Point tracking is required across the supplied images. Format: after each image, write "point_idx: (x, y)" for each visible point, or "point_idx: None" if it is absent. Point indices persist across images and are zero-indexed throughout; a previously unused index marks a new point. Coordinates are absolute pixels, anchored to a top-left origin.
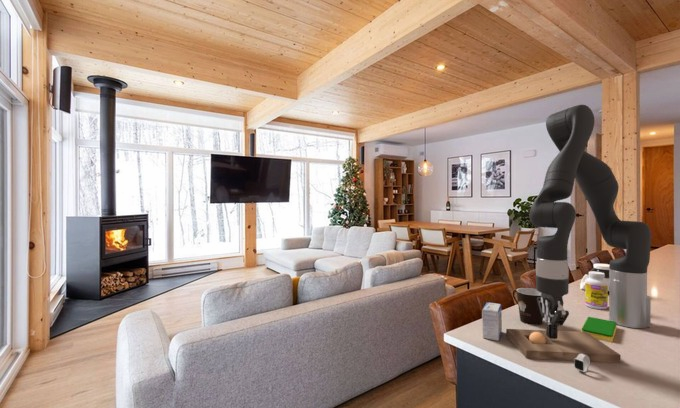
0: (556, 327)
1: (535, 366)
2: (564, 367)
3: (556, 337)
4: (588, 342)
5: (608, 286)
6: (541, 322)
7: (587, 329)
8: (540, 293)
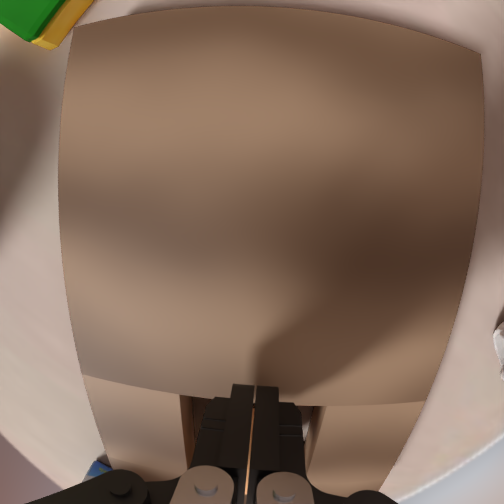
0: (302, 473)
1: (422, 470)
2: (462, 392)
3: (276, 393)
4: (285, 114)
5: None
6: None
7: (40, 9)
8: None
